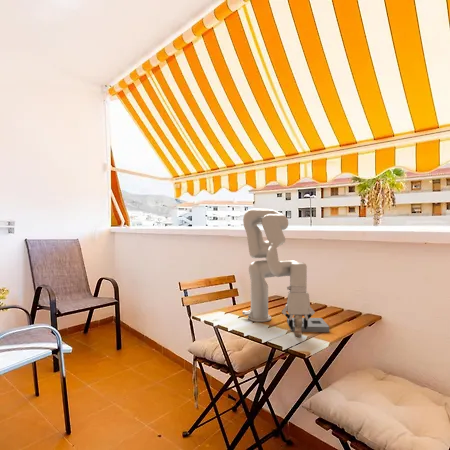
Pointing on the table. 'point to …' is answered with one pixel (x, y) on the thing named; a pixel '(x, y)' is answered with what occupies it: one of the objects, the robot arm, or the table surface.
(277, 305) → the table surface
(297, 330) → the birch peg
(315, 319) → the hole board
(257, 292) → the robot arm
